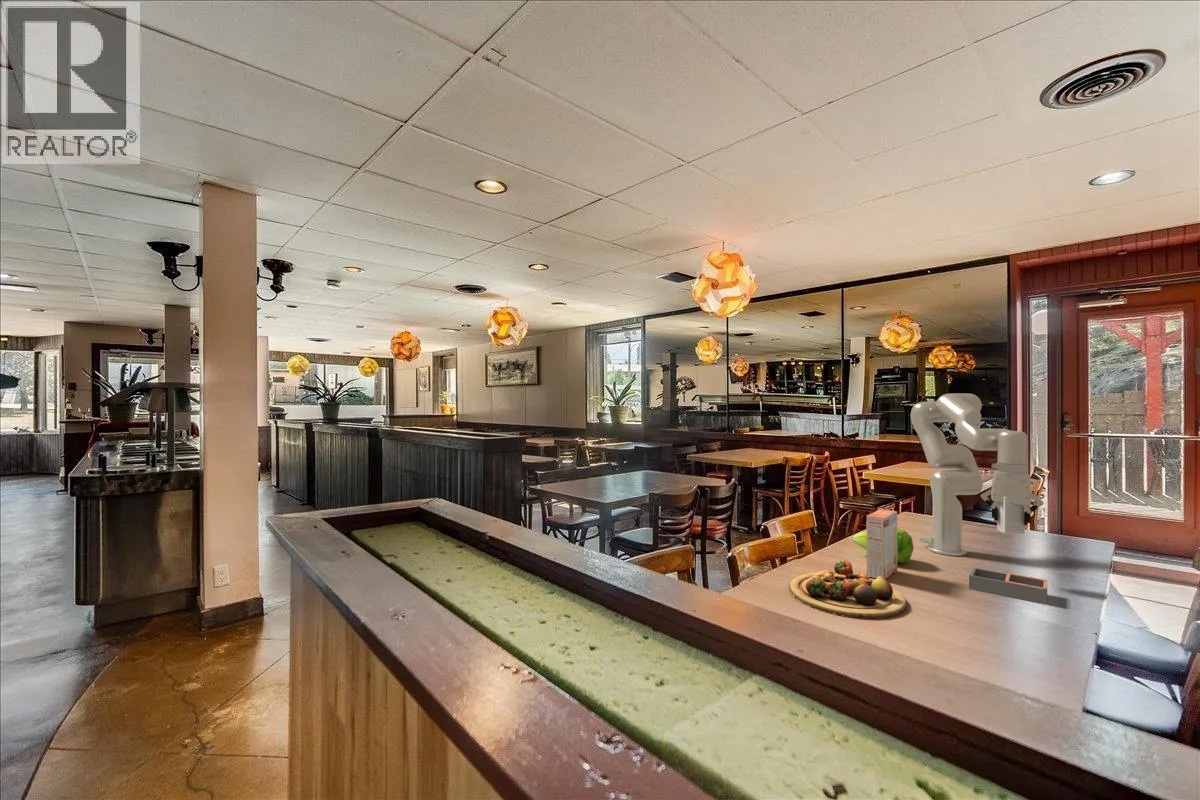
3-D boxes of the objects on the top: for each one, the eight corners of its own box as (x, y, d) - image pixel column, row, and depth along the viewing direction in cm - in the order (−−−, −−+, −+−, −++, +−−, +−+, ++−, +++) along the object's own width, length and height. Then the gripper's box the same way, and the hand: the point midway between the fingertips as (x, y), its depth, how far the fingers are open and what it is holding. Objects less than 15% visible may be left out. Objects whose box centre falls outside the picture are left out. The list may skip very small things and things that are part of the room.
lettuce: (859, 549, 203) (859, 519, 203) (918, 561, 189) (918, 528, 189) (847, 557, 193) (847, 525, 193) (908, 570, 179) (909, 535, 179)
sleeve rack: (969, 588, 162) (969, 574, 162) (973, 580, 170) (973, 566, 170) (1046, 604, 150) (1046, 589, 150) (1047, 594, 157) (1047, 580, 157)
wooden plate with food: (807, 572, 178) (807, 548, 178) (914, 593, 158) (914, 566, 158) (773, 602, 154) (773, 575, 153) (895, 632, 133) (895, 601, 133)
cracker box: (879, 567, 182) (879, 508, 182) (898, 571, 178) (898, 511, 178) (865, 577, 172) (865, 514, 172) (884, 581, 168) (885, 517, 168)
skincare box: (1015, 530, 172) (1016, 494, 171) (1024, 534, 167) (1025, 497, 167) (996, 530, 172) (996, 494, 172) (1004, 533, 168) (1005, 497, 168)
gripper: (977, 467, 172) (976, 520, 173) (1046, 473, 161) (1045, 529, 161) (980, 464, 178) (979, 516, 178) (1047, 470, 166) (1045, 525, 167)
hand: (1010, 522), depth 170 cm, fingers closed on skincare box, 7 cm apart
